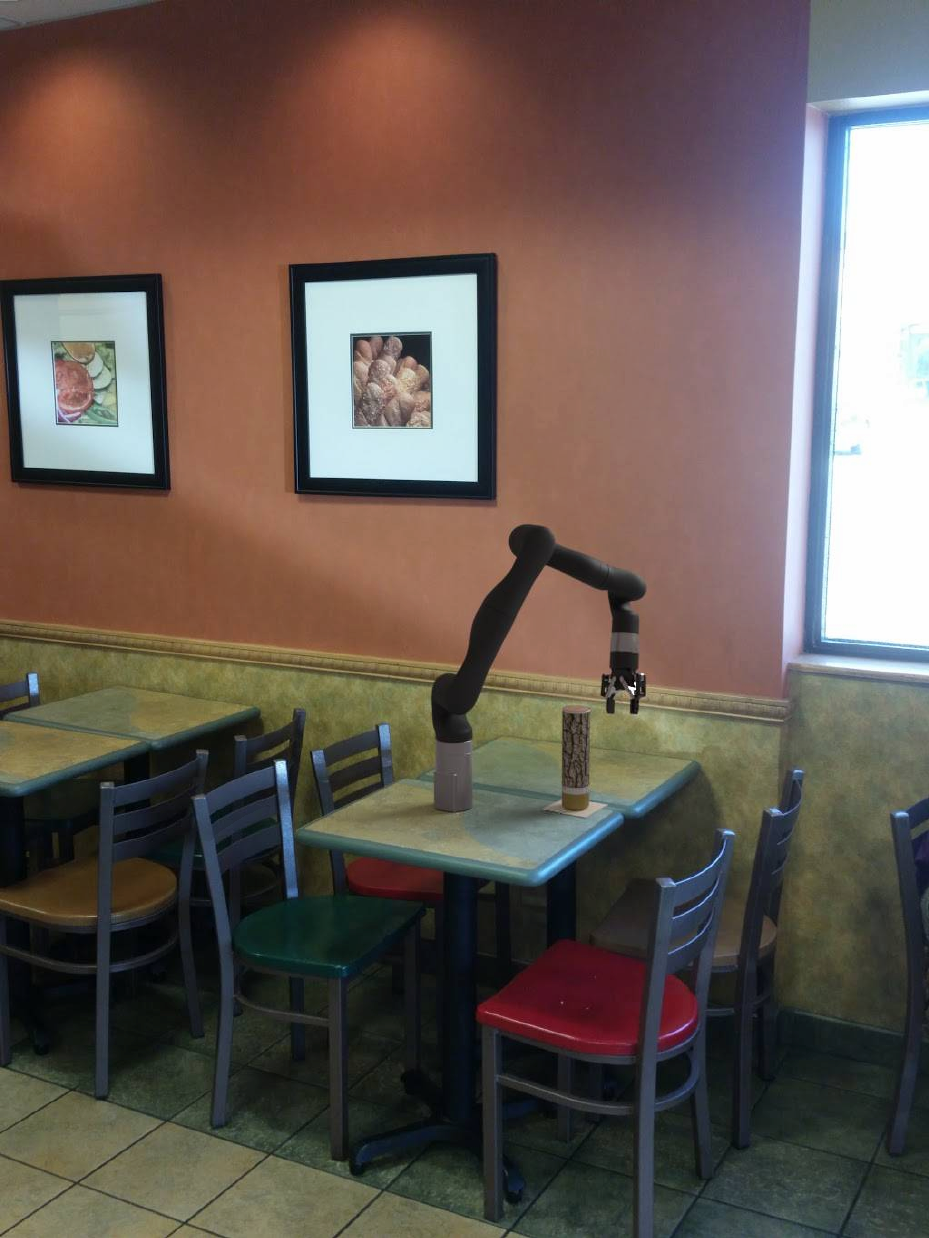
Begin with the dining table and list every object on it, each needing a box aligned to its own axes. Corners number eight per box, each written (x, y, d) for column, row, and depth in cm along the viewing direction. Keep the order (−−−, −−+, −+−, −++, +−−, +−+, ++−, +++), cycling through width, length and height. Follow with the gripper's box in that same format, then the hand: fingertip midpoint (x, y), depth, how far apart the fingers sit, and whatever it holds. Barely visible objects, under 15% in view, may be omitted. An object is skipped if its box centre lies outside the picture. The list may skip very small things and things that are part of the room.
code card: (585, 818, 297) (585, 817, 297) (542, 809, 303) (542, 809, 303) (608, 805, 306) (608, 804, 306) (565, 797, 313) (565, 796, 313)
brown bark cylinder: (567, 812, 301) (568, 712, 297) (557, 804, 307) (558, 706, 303) (593, 809, 302) (594, 710, 299) (583, 801, 309) (584, 704, 305)
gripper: (595, 650, 322) (592, 712, 321) (633, 649, 311) (631, 713, 309) (615, 653, 327) (613, 714, 325) (654, 651, 315) (652, 715, 314)
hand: (622, 713), depth 317 cm, fingers open, 8 cm apart
